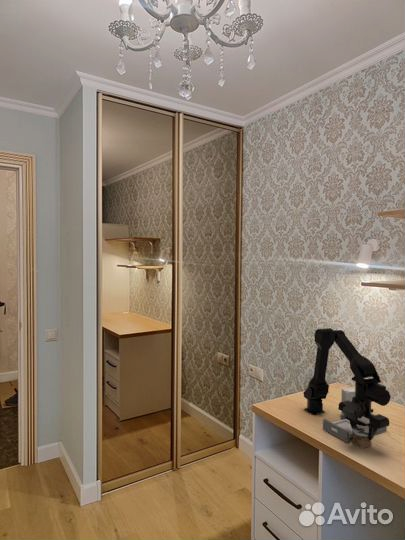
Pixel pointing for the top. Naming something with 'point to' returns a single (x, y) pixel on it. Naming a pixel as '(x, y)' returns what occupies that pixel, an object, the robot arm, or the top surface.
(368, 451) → the top surface
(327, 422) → the tray
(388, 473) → the top surface
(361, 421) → the housing
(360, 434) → the disc
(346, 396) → the skincare box
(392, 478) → the top surface
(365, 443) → the walnut block
